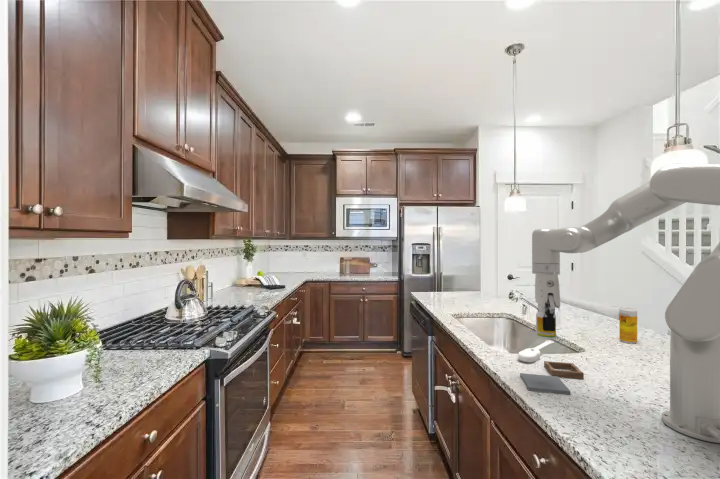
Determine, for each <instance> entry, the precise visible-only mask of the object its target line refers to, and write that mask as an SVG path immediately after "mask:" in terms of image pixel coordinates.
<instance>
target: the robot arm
mask: <svg viewBox="0 0 720 479" xmlns="http://www.w3.org/2000/svg"><path fill="white" fill-rule="evenodd" d="M686 203H691V204H699V205H700V204H701V205H710V206H711V205H712V206H719V207H720V164H711V163H710V164H707V163H705V164H704V163H703V164H702V163H672V164H668V165H665V166H663V167H660V168H659V169H658V170H656V171H655V172H654V174H653V175H651V178H650V180H649V181H647V182H645V183H643V184H642V185H639V187H636V188H634V189H633V190H631V191H629V192H628V193H626V194H624V195H621V196H620V197H619V198H616V199H615V200H613V201H612V203H611V204H609V207H608V208H607V210H606V211H604V212H603V213H602V214H601V215H599V216H597V217H596V218H595V219H592V220H590V221H589V222H587V223H585V224H583V225H581V226H580V227H572V226H571V227H564V228H563V227H562V228H557V229H556V228H537V229H535V230H533V231H532V232H531V265H532V266H531V269H532V270H531V273H532V274H535V278H534V279H535V280H534V282H535V283H534V293H535V294H534V300H535V303H536V304H537V312H539V309H538V308H539V305H541V306H542V307H543V311H544V317H543V330H544V331H555V315H556V309H559V308H560V307H561V294H560V293H561V291H560V280H559V275H560V274H561V253H563V254H583V253H587V252H589V251H592V250H594V249H596V248H599V247H600V246H602V245H604V244H607V243H608V242H610V241H612V240H614V239H617V238H618V237H620V236H621V235H623V234H625V233H628V232H630V231H632V230H634V229H635V228H637V227H639V226H641V225H643V224H645V223H647V222H649V221H651V220H653V219H655V218H657V217H659V216H661V215H663V214H665V213H667V212H669V211H672V210H673V209H676V208H678V207H680V206H682V205H684V204H686ZM546 305H549V307H546ZM546 309H548V310H547V312H546ZM664 319H665V323H666V326H667V327H668V328H669V330H670V341H669V342H670V346H669V347H670V348H669V349H670V350H669V354H670V355H669V356H670V357H669V410H666V411H662V413H661V421H662V422H663V423H664V424H665V425H666V426H667V427H669V428H671V429H673V431H676V432H679V433H681V434H683V435H685V436H688V437H691V438H694V439H696V440H697V439H698V440H701V441H705V442H709V443H715V444H720V241H719V242H718V244H717V245H716V246H715V247H714V249H713V250H712V252H710V254H709V255H708V256H707V257H705V258H703V259H701V260H700V262H699V263H698V264H696V266H695V268H693V270H692V272H691V273H690V274H689V276H688V278H687V279H686V280H685V282H683V284H682V286H681V287H680V288H679V290H678V292H676V295H675V296H674V297H673V298H672V300H671V301H670V302H669V304H668V306H667V307H666V308H665V313H664Z"/></svg>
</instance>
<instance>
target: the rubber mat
mask: <svg viewBox="0 0 720 479" xmlns="http://www.w3.org/2000/svg"><path fill="white" fill-rule="evenodd" d="M519 376H520V379H521V380H522V382H523V384H524V385H525V387H526V389H527V390H528V391H529V392H539V393H547V394H549V393H550V394H559V395H566V396H567V395H570V396H571V390H570V389H569V388H568V387H567V385H566V384H565V383H564V382H563V381H562V379H560V377H558V376H551V375H545V374H534V373H524V372H523V373H521V372H520V373H519Z"/></svg>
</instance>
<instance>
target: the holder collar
mask: <svg viewBox="0 0 720 479" xmlns="http://www.w3.org/2000/svg"><path fill="white" fill-rule="evenodd" d="M543 367H544V368H545V370H546V371H547V373H549V376H558V377H559V378H561V379H570V380H571V379H573V380H584V378H585V375H584V374H585V373H584V372H583V371H582V370H581V369H580V368H578V367H577V366H576V364H574V363H572V362H563V361H561V362H560V361H559V362H558V361H549V360H548V361H547V360H545V361H543Z"/></svg>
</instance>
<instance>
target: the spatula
mask: <svg viewBox="0 0 720 479" xmlns="http://www.w3.org/2000/svg"><path fill="white" fill-rule="evenodd" d="M554 343H555V341H553V340H549V339H545V341H544V342H542V343H541V344H539V345H537V346H534V347H531V348H530V347H528V348H524V349H523V350H520V351H518V355H517V357H518V360H519V361H520V362H523V363H535V362H536V361H537V360H540V359H541V351H540V350H542V349H543V348H545V347H546V346H549V345H552V344H554Z"/></svg>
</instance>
